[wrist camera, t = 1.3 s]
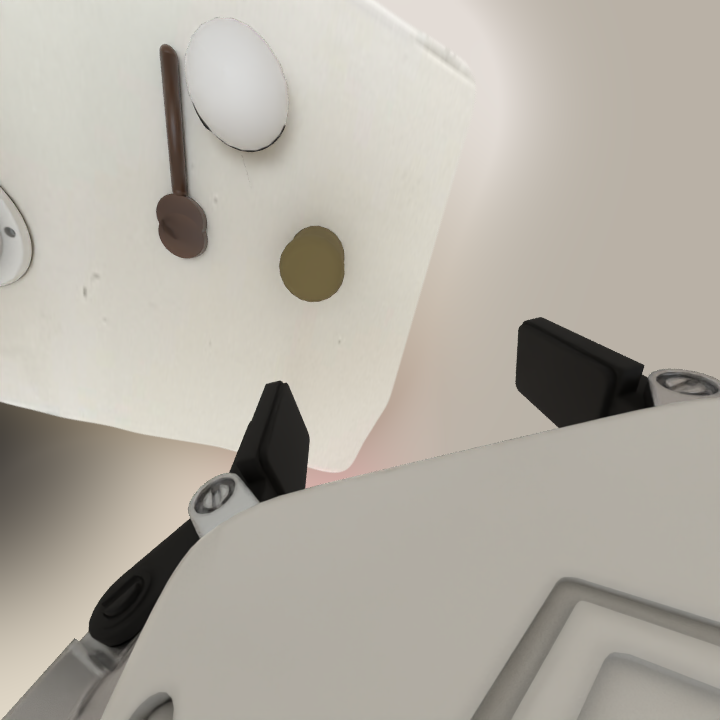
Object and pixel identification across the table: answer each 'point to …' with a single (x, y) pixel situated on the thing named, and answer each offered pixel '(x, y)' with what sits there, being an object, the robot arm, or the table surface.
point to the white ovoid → (236, 84)
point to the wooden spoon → (178, 174)
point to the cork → (313, 264)
